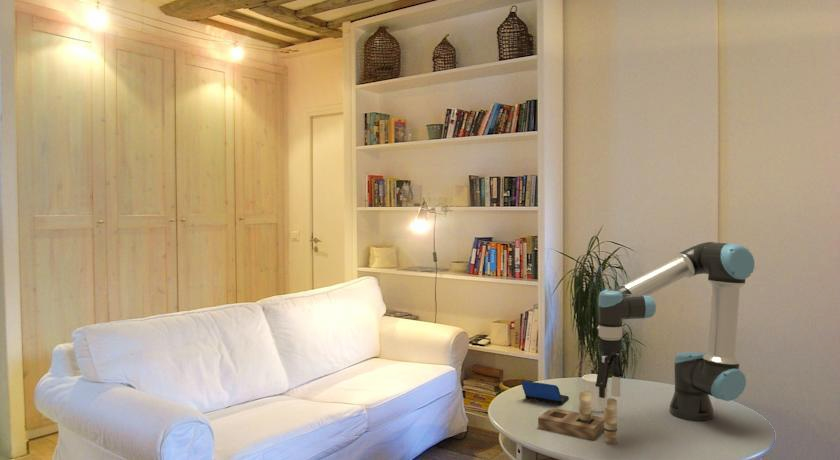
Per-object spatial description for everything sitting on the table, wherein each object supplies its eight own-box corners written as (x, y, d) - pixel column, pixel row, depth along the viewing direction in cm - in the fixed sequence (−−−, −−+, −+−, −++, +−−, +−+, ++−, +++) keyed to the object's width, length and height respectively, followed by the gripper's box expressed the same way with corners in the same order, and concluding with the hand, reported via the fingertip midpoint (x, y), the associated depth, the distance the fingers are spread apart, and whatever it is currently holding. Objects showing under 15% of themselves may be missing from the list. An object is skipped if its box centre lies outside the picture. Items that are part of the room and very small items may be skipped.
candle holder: (605, 404, 238) (605, 374, 237) (611, 412, 228) (611, 381, 227) (580, 403, 239) (580, 373, 238) (584, 412, 229) (584, 381, 228)
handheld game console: (569, 399, 245) (569, 377, 244) (558, 409, 234) (558, 385, 233) (533, 393, 253) (533, 371, 253) (520, 402, 242) (520, 379, 242)
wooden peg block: (605, 429, 212) (605, 389, 211) (593, 440, 202) (593, 399, 202) (551, 418, 224) (551, 380, 223) (538, 428, 214) (537, 389, 213)
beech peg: (618, 440, 202) (618, 399, 201) (614, 445, 198) (614, 403, 198) (606, 438, 204) (606, 397, 203) (602, 442, 201) (602, 401, 200)
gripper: (610, 330, 212) (610, 389, 213) (585, 343, 191) (585, 409, 192) (632, 332, 207) (631, 393, 208) (609, 346, 187) (608, 414, 188)
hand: (609, 401), depth 200 cm, fingers open, 13 cm apart
